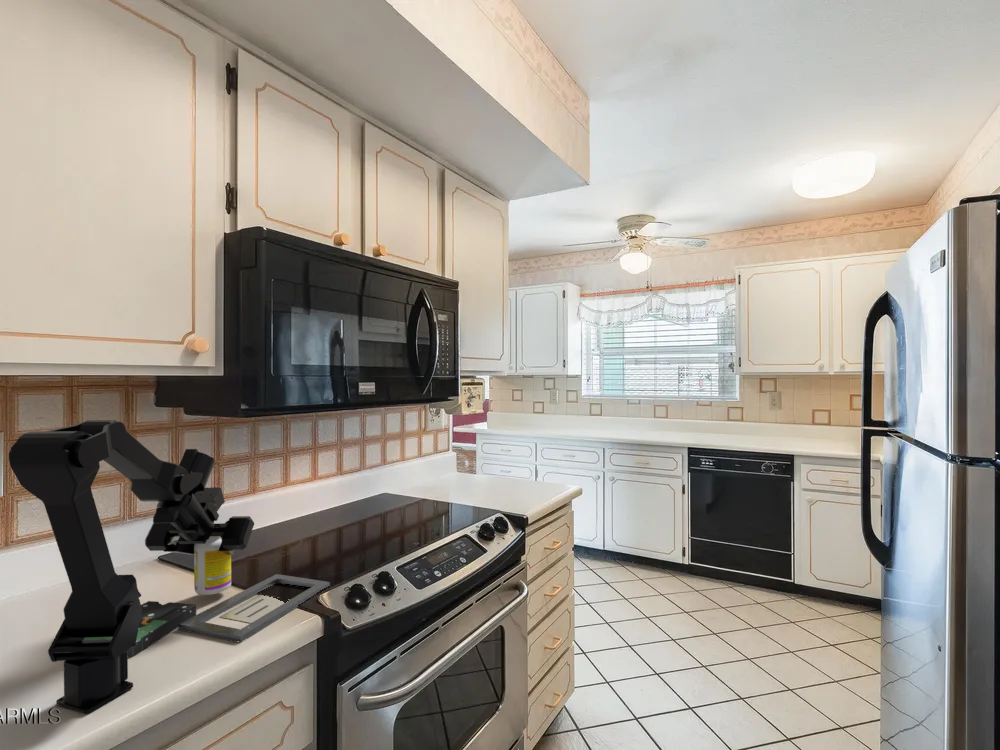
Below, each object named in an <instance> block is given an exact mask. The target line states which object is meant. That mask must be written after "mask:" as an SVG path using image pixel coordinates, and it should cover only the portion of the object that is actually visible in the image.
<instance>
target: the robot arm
mask: <svg viewBox="0 0 1000 750" xmlns="http://www.w3.org/2000/svg"><path fill="white" fill-rule="evenodd" d="M101 461H104V462H105V463H106V464H108V465H110V466H111V467H112V468H113V469H115V470H116V471H117V472H119V473H120V474H121V475H123V477H125V478H127V479H128V480H129V481H130V482H131V485H130V491H131V492H132V494H134V495H135V497H136V498H137V499H138V500H139V501H140V502H144V503H145V502H147V503H148V502H150V503H152V502H157V504H156V509H155V512H154V514H153V518H152V524H151V527H150V529H149V531H148V533H147V534H146V537H145V539H144V545H145V547H146V548H147V549H148V550H149V551H151V552H157V551H159V552H160V551H163V552H165V553H167V552H168V553H174V554H177V553H178V554H184V555H190V556H194V545H195V544H205V543H206V541H208V540H209V537H210V536H221V537H220V538H221V539H222V542H221V545H220V548H219V550H218V551H220V552H223V553H226V554H229V555H231V556H234V553H235V551H238V550H239V551H240V550H241V551H242V550H244V549H246V548H247V547H248V543H249V540H250V537H251V534H252V532H253V528H254V525H255V522H254V520H253V519H252V518H251V516H249V515H245V516H243V515H242V516H239V515H238V516H236V515H235V516H231V517H229V518H228V520H227V521H225V522H224V523H215V522H217V521H218V519H219V517H220V514H219V513H218V511H219V510H220V508H221V507H222V506H223V505H224V504H225V502H226V501H225V497H224V493H223V490H222V487H206V486H207V483H208V480H209V479H210V476H211V474H212V473H213V472H212V471H213V469H214V468H215V467H214V466H215V464H216V463H215V462H216V461H215V458H214V457H212V456H210V455H209V454H207V453H204V452H200V451H199V450H198V448H186V449H185V450H184V452H183V455H182V457H181V460H180V462H179V464H177V463H174V462H170V461H167V460H166V461H165V460H161V458H158V457H157V456H156V455H155V454H154V453H153V452H151V451H150V450H149V449H148V448H147V447H146V446H144V445H143V443H141V442H140V441H139V440H138V439H137V438H136V437H134V436H133V435H132V434H130V433H129V432H128V431H127V429H126V426H125V424H124V422H121V421H118V420H115V419H113V420H112V419H108V420H107V419H101V420H100V419H93V420H90V419H89V420H85V421H83V422H78V423H77V424H73V425H70V426H66V427H60V428H55V429H50V430H46V431H28V432H26V433H23V434H22V435H21V436H19V437H18V438H17V440H16V441H15V443H14V444H12V446H11V447H10V450H9V452H8V462H9V466H10V469H11V470H12V472H13V474H14V476H15V478H16V479H17V481H18V483H19V484H20V487H22V488H23V489H25V490H26V491H27V492H29V493H30V494H31V495H33V496H34V497H36V498H37V499H38V500H40V501H41V502H42V503H43V505H44V508H45V512H46V515H47V517H48V521H49V524H50V526H51V529H52V533H53V536H54V538H55V542H56V545H57V547H58V548H57V549H58V551H59V554H60V557H61V560H62V564H63V566H64V569H65V572H66V575H67V578H68V581H69V584H70V588H71V593H70V595H69V597H68V599H67V601H66V603H65V605H64V607H63V615H64V618H63V621H62V623H61V624H60V627H59V629H58V631H57V632H56V634H55V637H54V638H53V640H52V643H50V646H49V648H48V649H47V652H48V655H49V658H50V661H51V662H52V663H53V662H54V663H55V662H56V663H57V662H63V696H62V697H61V696H60V697H59V698H57V700H56V702H55V703H56V705H57V706H60V707H63V708H67V709H71V710H73V711H77V712H80V713H83V714H88V713H91V712H93V711H94V710H97V709H99V708H100V707H101V706H103V705H105V704H107V703H108V702H110V701H112V700H113V699H115V698H117V697H119V696H120V695H122V694H123V693H125V692H127V691H129V690H131V689H132V688H133V687H134V682H131V681H127V680H128V678H129V669H128V668H129V662H128V661H129V659H128V658H129V657H128V652H127V650H128V649H129V648H130V647H132V646H133V645H134V644H135V643H136V639H137V634H138V629H139V623H140V618H141V612H142V607H141V605H142V604H141V601H140V600H141V599H140V597H142V594H141V592H140V591H139V589H138V584H137V583H138V582H137V579H136V577H135V575H134V574H118V573H116V571H115V568H114V567H115V566H114V564H113V560H112V558H111V554H110V550H109V547H108V543H107V540H106V536H105V533H104V528H103V525H102V523H101V519H100V515H99V513H98V512H99V511H98V509H97V505H96V502H95V499H94V495H93V491H92V485H93V483H94V481H95V479H96V477H97V475H98V473H99V471H100V469H101V468H100V467H101V466H100V465H101V464H100V462H101ZM85 637H113V638H112V640H82V638H85Z"/></svg>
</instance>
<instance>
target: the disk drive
mask: <svg viewBox="0 0 1000 750" xmlns="http://www.w3.org/2000/svg"><path fill="white" fill-rule="evenodd" d="M141 607H142V612H141V618H140V623H139V629H138V634H137V639H136V643H135V644H134V645H133V646H132V647H130V648H129V649H128V650H127V652H128V658H133V657H135V656H137V655H139V654H140V653H142V652H143V651H145V650H146V649H148V648H149V647H151V646H152V645H154V644H155V643H156V642H158V641H160V640H162V638H165V637H166V636H168V635H169V634H170V633H173V631H175V630H176V629H179V628H178V624H180V623H182V622H184V621H186V620H187V619H189V618H191V617H193V616H195V615H197V604H196V603H182V602H172V601H171V602H166V603H164V604H161V603H160V601H157V600H155V601H152V600H148V601H146V602H143V603H142V604H141ZM112 638H113V637H85V638H82V640H112Z"/></svg>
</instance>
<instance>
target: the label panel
mask: <svg viewBox="0 0 1000 750" xmlns="http://www.w3.org/2000/svg"><path fill="white" fill-rule="evenodd" d="M276 583H277V584H279V583H281V585H285V584H290V585H289V586H292V585H298V586H306V587H311V588H307V589H306V590H304V591H303V592H301V593H299V594H298V595H296V596H294V597H292V598H291V599H288V600H289V601H287V602H286V603H284V602H283V601H280V600H278V599H276V598H273V597H274V596H271V597H269V596H270V595H265V596H264V595H263V594H259V593H258V592H260V591H262V590H264V589H265V590H267V589H269V588H271V587H273V586H275V585H277V584H276ZM274 584H275V585H274ZM270 586H271V587H270ZM298 586H297V587H298ZM328 586H330V587H331V583H330V581H325V580H319V579H312V578H311V579H310V578H306V577H298V576H291V575H285V574H279V573H276V574H273V575H272V576H270V577H268V578H266V579H264V580H262V581H260V582H258V583H256V584H254V585H252V586H250V587H248V588H246V589H244V590H243V591H240V592H239V593H237V594H234V595H233V596H230V597H229V598H227V599H225V600H223V601H220V602H219V603H217V604H214V605H213V606H211V607H209V608H207V609H205V610H203V611H201V612H200V613H198V614H197V613H196V615H195V616H193V617H191V618H189V619H187V620H186V621H184V622H182V623H180V624H178V628H177V629H178V631H184V632H188V633H193V634H198V635H201V636H208V637H212V638H217V639H222V640H226V639H227V641H230V640H232V642H235V641H239V642H238V643H240V642H241V641H242V642H244V641H245V639H246V640H247V639H249V638H251V637H252V636H254V635H255V634H257V633H258V632H260V631H261V630H263V629H265V628H267V627H268V626H269V625H271V624H273V623H274V622H276V621H278V620H279V619H281V618H282V617H284V616H286V615H287V614H289V613H290V612H292V611H293V610H295V609H296V608H298V607H299V606H298V605H299V604H301V603H302V602H304V601H305V600H306V599H308V598H310V597H311V596H313V595H314V594H316V593H317V592H319V591H320V590H322V589H324V588H326V587H328ZM268 587H269V588H268ZM266 588H267V589H266ZM265 590H264V591H265ZM262 592H263V591H262ZM257 593H258V594H257ZM260 593H261V592H260ZM248 599H249V600H248ZM246 600H247V601H246ZM244 601H246V602H244ZM243 602H244V603H243ZM241 603H242V604H241ZM239 604H240V605H239ZM237 605H238V606H237ZM233 607H235V608H233ZM232 608H233V609H232ZM230 609H231V610H230ZM226 611H227V612H226ZM224 612H225V613H224ZM222 613H224V614H222ZM221 614H222V615H221ZM219 615H220V616H219ZM217 616H219V618H222V619H228V620H233V621H237V622H238V621H239V622H243V623H249V624H248V625H245V626H243V627H242V628H235V627H231V626H226V625H220V624H215V623H210V622H207V621H210V620H212V619H213V618H215V617H217ZM243 640H244V641H243ZM242 642H241V643H242Z"/></svg>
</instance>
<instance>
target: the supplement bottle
mask: <svg viewBox="0 0 1000 750" xmlns="http://www.w3.org/2000/svg"><path fill="white" fill-rule="evenodd" d="M220 537H221V536H210V537H209V540H208V541H206V543H205V544H195V545H194V555H193V569H194V572H193V575H194V578H193V582H194V584H193V585H194V586H193V587H194V592H195V594H197V595H201V596H203V595H204V596H210V595H216V594H220V593H222V592H224V591H226V590H228V589H229V588H231V586H232V555H229V554H226V553H223V552H220V551H218V550H219V548H220V545H221V542H222V539H221V538H220Z"/></svg>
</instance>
